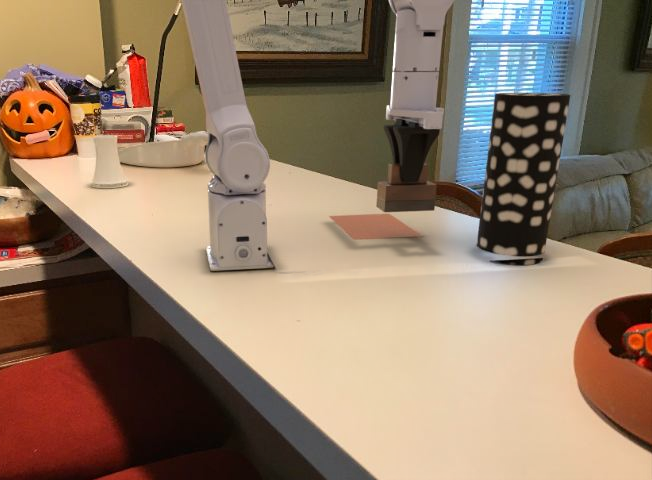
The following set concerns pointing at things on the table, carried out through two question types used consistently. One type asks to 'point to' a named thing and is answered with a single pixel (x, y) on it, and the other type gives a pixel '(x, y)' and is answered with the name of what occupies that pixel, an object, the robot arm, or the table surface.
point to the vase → (107, 163)
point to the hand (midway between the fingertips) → (406, 180)
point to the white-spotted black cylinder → (521, 174)
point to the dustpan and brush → (167, 151)
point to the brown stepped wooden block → (405, 192)
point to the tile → (374, 226)
